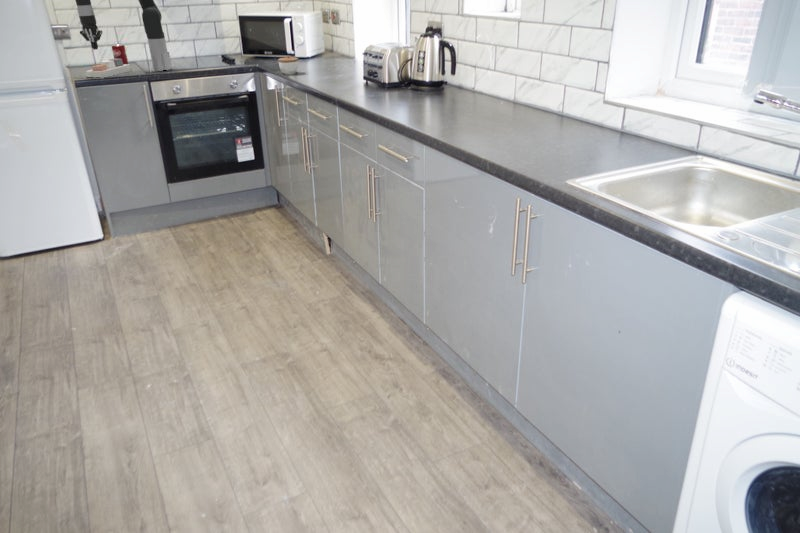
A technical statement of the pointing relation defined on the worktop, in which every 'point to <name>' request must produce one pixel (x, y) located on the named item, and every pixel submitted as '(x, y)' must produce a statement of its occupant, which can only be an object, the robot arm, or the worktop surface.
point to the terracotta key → (99, 67)
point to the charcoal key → (117, 62)
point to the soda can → (120, 53)
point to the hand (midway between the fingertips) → (95, 49)
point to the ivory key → (108, 64)
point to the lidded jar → (288, 65)
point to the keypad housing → (109, 71)
